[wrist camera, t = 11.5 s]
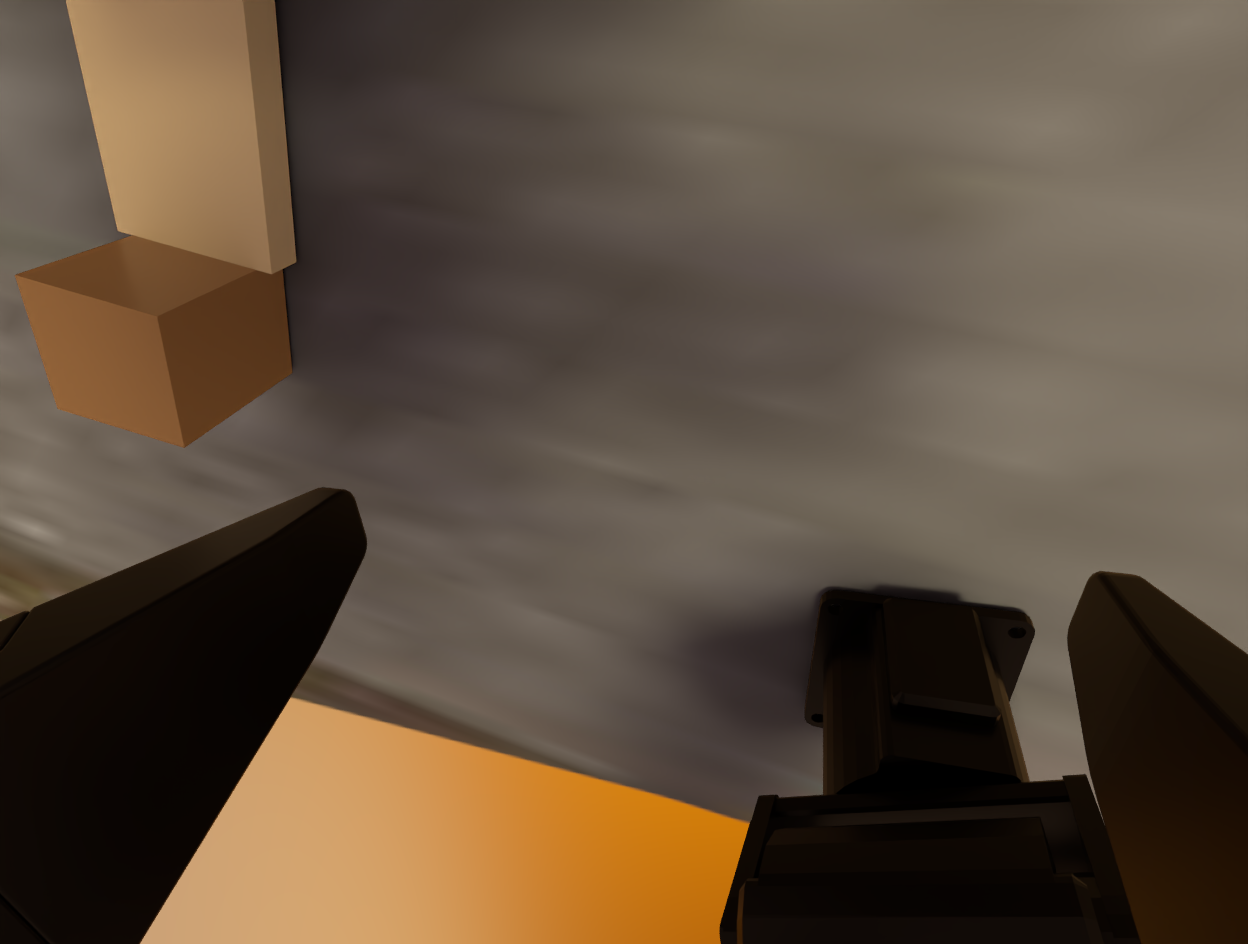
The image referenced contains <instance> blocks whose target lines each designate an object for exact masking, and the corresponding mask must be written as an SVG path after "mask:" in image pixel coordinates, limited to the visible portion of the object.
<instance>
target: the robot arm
mask: <svg viewBox="0 0 1248 944" xmlns="http://www.w3.org/2000/svg"><path fill="white" fill-rule="evenodd" d="M366 549H367V537H366V534H365V530H364V527H363V523H362V520H361V517H360V513H359V510H358V507H357V503H356V500H355V498H354V496H353V495H352V494H351V492H349V491H347V490H344V489H335V488H325V487H322V488H317V489H314V490H312V491H310V492H307V493H305V494H303V495H300V496H298V497H295V498H293V499H291V500H288V501H286V502H284V503H281V504H279V505H276V506H274V507H272V508H269V509H267V510H264V511H262V512H260V513H257V514H255V515H253V516H250V517H248V518H245V519H243V520H241V521H238V522H236V523H234V524H231V525H229V526H226V527H224V528H222V529H219V530H217V531H214V532H212V533H210V534H207V535H205V536H203V537H200V538H198V539H195V540H193V541H191V542H188V543H186V544H184V545H181V546H179V547H176V548H174V549H172V550H169V551H167V552H164V553H162V554H160V555H157V556H155V557H153V558H150V559H148V560H145V561H143V562H141V563H138V564H136V565H134V566H131V567H129V568H126V569H124V570H122V571H119V572H117V573H114V574H112V575H110V576H107V577H105V578H103V579H100V580H98V581H95V582H93V583H91V584H88V585H86V586H84V587H81V588H79V589H76V590H74V591H72V592H69V593H67V594H64V595H62V596H60V597H57V598H55V599H53V600H50V601H48V602H45V603H43V604H41V605H38V606H36V607H34V608H33V609H32V610H31V611H30V612H29V611H24V612H21V613H19V614H16V615H14V616H12V617H9V618H7V619H5V620H2V621H0V944H140V943H141V941H142V939H143V938H144V936H145V934H146V933H147V931H148V929H149V928H150V926H151V925H152V923H153V921H154V920H155V918H156V916H157V915H158V913H159V912H160V910H161V908H162V907H163V905H164V903H165V902H166V900H167V898H168V897H169V895H170V893H171V892H172V890H173V889H174V887H175V885H176V884H177V882H178V880H179V879H180V877H181V876H182V874H183V872H184V870H185V869H186V867H187V866H188V864H189V863H190V861H191V859H192V858H193V856H194V854H195V853H196V851H197V849H198V848H199V846H200V844H201V843H202V841H203V840H204V838H205V836H206V835H207V833H208V831H209V830H210V828H211V827H212V825H213V823H214V822H215V820H216V818H217V817H218V815H219V814H220V812H221V810H222V808H223V807H224V805H225V804H226V802H227V800H228V799H229V797H230V796H231V794H232V792H233V791H234V789H235V787H236V786H237V784H238V782H239V781H240V779H241V777H242V776H243V774H244V773H245V771H246V769H247V768H248V766H249V764H250V763H251V761H252V759H253V758H254V756H255V755H256V753H257V751H258V750H259V748H260V746H261V745H262V743H263V742H264V740H265V738H266V737H267V735H268V733H269V732H270V730H271V729H272V727H273V725H274V724H275V722H276V720H277V719H278V717H279V715H280V714H281V712H282V711H283V709H284V707H285V706H286V704H287V702H288V701H289V699H290V698H291V696H292V694H293V693H294V691H295V689H296V688H297V686H298V684H299V683H300V681H301V680H302V678H303V676H304V675H305V673H306V671H307V670H308V668H309V666H310V665H311V663H312V661H313V660H314V658H315V656H316V654H317V653H318V651H319V649H320V647H321V645H322V643H323V641H324V639H325V638H326V636H327V634H328V632H329V630H330V627H331V625H332V623H333V621H334V619H335V617H336V615H337V613H338V611H339V609H340V607H341V605H342V602H343V600H344V598H345V596H346V594H347V592H348V590H349V588H350V586H351V584H352V582H353V579H354V577H355V575H356V573H357V571H358V569H359V567H360V565H361V563H362V561H363V559H364V556H365V553H366ZM832 604H839V605H841V606H840V607H833V606H831V605H832ZM1013 627H1021V628H1019V629H1011V628H1013ZM1034 635H1035V629H1034V626H1033V623H1032V621H1031V619H1030V617H1029V616H1027V615H1026V614H1024V613H1020V612H1013V611H1005V610H997V609H989V608H980V607H972V606H964V605H956V604H947V603H939V602H931V601H923V600H915V599H906V598H898V597H890V596H882V595H873V594H865V593H857V592H849V591H840V590H831V591H828V592H826V593H824V594H823V595H822V597H821V599H820V606H819V613H818V620H817V627H816V634H815V640H814V647H813V654H812V661H811V668H810V675H809V682H808V689H807V695H806V702H805V720H806V721H807V723H809V724H811V725H813V726H816V727H821V728H823V795H813V796H797V797H781V798H779V796H778V795H762V796H759V797H758V800H757V803H756V807H755V810H754V813H753V817H752V820H751V822H750V825H749V828H748V831H747V835H746V838H745V841H744V845H743V848H742V852H741V855H740V858H739V862H738V866H737V869H736V872H735V876H734V879H733V883H732V886H731V889H730V893H729V896H728V899H727V903H726V906H725V910H724V913H723V917H722V919H721V923H720V941H721V944H1248V654H1247V653H1245V652H1244V651H1243V650H1241V649H1240V648H1238V647H1237V646H1236V645H1234V644H1233V643H1232V642H1230V641H1229V640H1227V639H1226V638H1225V637H1223V636H1222V635H1221V634H1219V633H1218V632H1216V631H1215V630H1214V629H1212V628H1211V627H1210V626H1208V625H1207V624H1205V623H1204V622H1203V621H1201V620H1200V619H1198V618H1197V617H1196V616H1194V615H1193V614H1192V613H1190V612H1189V611H1187V610H1186V609H1185V608H1183V607H1182V606H1181V605H1179V604H1178V603H1176V602H1175V601H1174V600H1172V599H1171V598H1170V597H1168V596H1167V595H1165V594H1164V593H1163V592H1161V591H1160V590H1159V589H1157V588H1156V587H1154V586H1153V585H1152V584H1150V583H1149V582H1148V581H1146V580H1145V579H1143V578H1141V577H1140V576H1137V575H1133V574H1124V573H1115V572H1105V571H1099V572H1096V573H1094V574H1092V576H1091V577H1090V578H1089V579H1088V581H1087V583H1086V586H1085V588H1084V591H1083V593H1082V595H1081V598H1080V600H1079V603H1078V605H1077V608H1076V610H1075V612H1074V615H1073V617H1072V620H1071V622H1070V625H1069V629H1068V637H1067V642H1068V651H1069V657H1070V663H1071V669H1072V674H1073V680H1074V686H1075V692H1076V698H1077V704H1078V709H1079V715H1080V721H1081V727H1082V733H1083V739H1084V745H1085V750H1086V756H1087V761H1088V766H1089V771H1090V775H1091V779H1092V783H1093V786H1094V790H1095V794H1096V797H1097V801H1098V804H1099V807H1100V810H1101V814H1102V817H1103V819H1102V817H1101V814H1100V811H1099V808H1098V806H1097V803H1096V800H1095V798H1094V795H1093V792H1092V790H1091V787H1090V784H1089V781H1088V779H1087V776H1086V774H1082V775H1067V776H1063V780H1048V781H1033V782H1030V780H1029V776H1028V773H1027V769H1026V765H1025V761H1024V757H1023V753H1022V750H1021V746H1020V742H1019V738H1018V734H1017V731H1016V727H1015V723H1014V719H1013V715H1012V712H1011V708H1010V704H1009V701H1010V699H1011V696H1012V693H1013V691H1014V688H1015V685H1016V683H1017V680H1018V677H1019V675H1020V672H1021V670H1022V667H1023V664H1024V662H1025V659H1026V656H1027V654H1028V651H1029V648H1030V646H1031V643H1032V640H1033V638H1034ZM1103 820H1104V822H1103ZM1104 824H1105V825H1104Z"/></svg>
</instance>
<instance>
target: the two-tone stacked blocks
mask: <svg viewBox="0 0 1248 944" xmlns="http://www.w3.org/2000/svg"><path fill="white" fill-rule="evenodd" d="M66 4H67V8H68V13H69V17H70V21H71V26H72V30H73V35H74V39H75V44H76V48H77V52H78V57H79V61H80V66H81V70H82V75H83V79H84V83H85V88H86V92H87V97H88V101H89V106H90V110H91V114H92V119H93V123H94V128H95V132H96V137H97V141H98V145H99V150H100V154H101V159H102V163H103V168H104V172H105V176H106V181H107V185H108V190H109V194H110V199H111V203H112V207H113V212H114V216H115V221H116V225H117V230H118V231H120V232H123V233H127V234H130V235H132V236H129V237H126V238H123V239H120V240H117V241H114V242H111V243H108V244H105V245H102V246H100V247H97V248H94V249H91V250H88V251H85V252H82V253H79V254H76V255H73V256H70V257H67V258H64V259H61V260H58V261H55V262H52V263H49V264H46V265H43V266H40V267H37V268H34V269H31V270H28V271H25V272H22V273H19V274H16V275H15V277H16V280H17V283H18V286H19V290H20V293H21V296H22V299H23V302H24V305H25V308H26V311H27V314H28V318H29V321H30V324H31V327H32V330H33V333H34V336H35V339H36V343H37V346H38V349H39V352H40V355H41V358H42V361H43V364H44V367H45V371H46V374H47V377H48V380H49V383H50V386H51V389H52V392H53V395H54V399H55V402H56V405H57V408H58V409H60V410H63V411H66V412H70V413H73V414H76V415H79V416H83V417H86V418H89V419H92V420H96V421H99V422H102V423H105V424H109V425H112V426H115V427H118V428H122V429H125V430H128V431H131V432H135V433H138V434H141V435H144V436H148V437H151V438H154V439H157V440H161V441H164V442H167V443H170V444H174V445H177V446H180V447H183V448H185V447H186V446H188V445H189V444H191V443H192V442H193V441H195V440H196V439H198V438H199V437H201V436H202V435H204V434H205V433H206V432H208V431H209V430H211V429H212V428H214V427H215V426H216V425H218V424H219V423H221V422H222V421H224V420H225V419H227V418H228V417H229V416H231V415H232V414H234V413H235V412H237V411H238V410H239V409H241V408H242V407H244V406H245V405H247V404H248V403H250V402H251V401H252V400H254V399H255V398H257V397H258V396H260V395H261V394H262V393H264V392H265V391H267V390H268V389H270V388H271V387H273V386H274V385H275V384H277V383H278V382H280V381H281V380H283V379H284V378H285V377H287V376H288V375H290V374H291V373H292V364H291V353H290V343H289V332H288V322H287V311H286V301H285V290H284V280H283V269H284V268H286V267H288V266H290V265H292V264H294V263H296V251H295V239H294V227H293V215H292V203H291V191H290V178H289V166H288V154H287V142H286V130H285V118H284V106H283V94H282V82H281V70H280V58H279V46H278V34H277V22H276V9H275V0H66Z"/></svg>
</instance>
